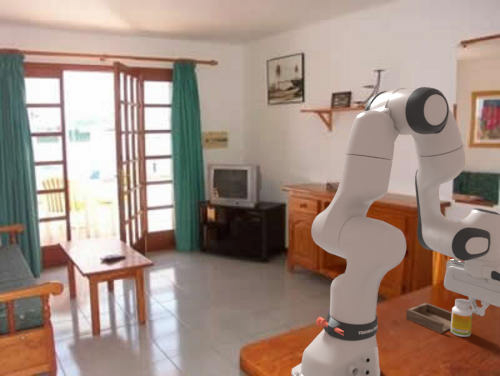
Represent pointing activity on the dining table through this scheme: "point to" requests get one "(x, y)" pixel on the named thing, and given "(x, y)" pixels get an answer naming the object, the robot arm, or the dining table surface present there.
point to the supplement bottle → (461, 318)
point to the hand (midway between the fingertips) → (477, 314)
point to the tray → (430, 317)
